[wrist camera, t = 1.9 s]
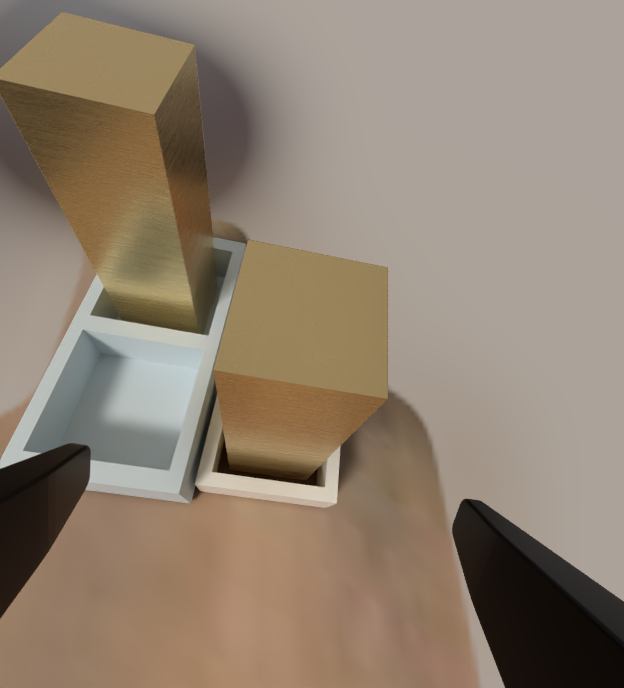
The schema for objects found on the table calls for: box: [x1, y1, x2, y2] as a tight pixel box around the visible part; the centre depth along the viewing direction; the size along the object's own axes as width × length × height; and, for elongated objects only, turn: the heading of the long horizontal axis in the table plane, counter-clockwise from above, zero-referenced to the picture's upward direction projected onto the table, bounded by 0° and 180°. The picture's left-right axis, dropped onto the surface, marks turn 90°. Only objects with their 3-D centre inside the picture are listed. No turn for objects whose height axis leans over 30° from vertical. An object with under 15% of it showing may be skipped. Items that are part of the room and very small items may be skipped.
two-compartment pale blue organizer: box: [0, 237, 246, 503], centre depth 19 cm, size 14×7×4 cm, turn 174°
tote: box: [195, 395, 340, 508], centre depth 19 cm, size 6×6×2 cm
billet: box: [213, 240, 388, 480], centre depth 15 cm, size 4×4×12 cm
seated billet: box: [0, 12, 218, 335], centre depth 16 cm, size 4×4×12 cm
